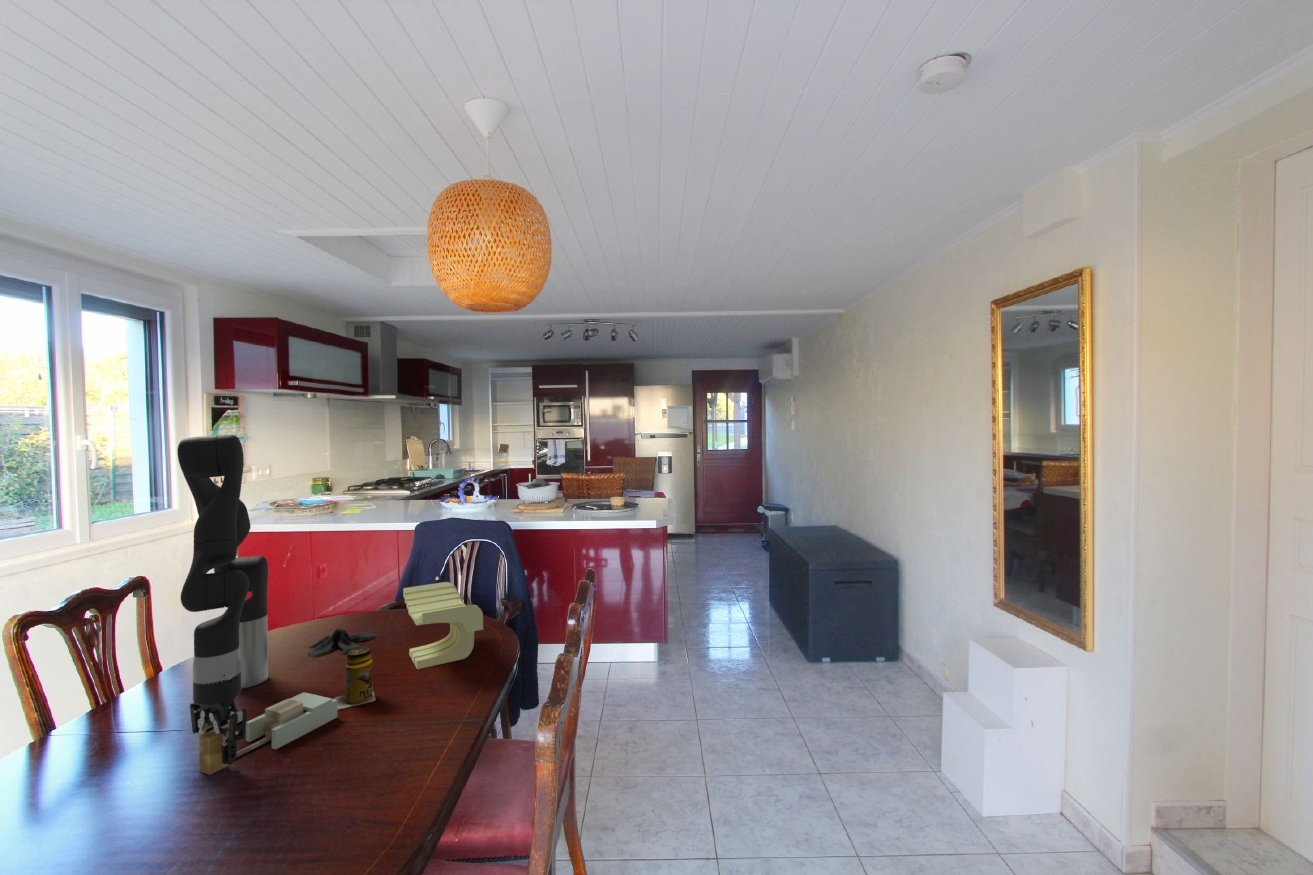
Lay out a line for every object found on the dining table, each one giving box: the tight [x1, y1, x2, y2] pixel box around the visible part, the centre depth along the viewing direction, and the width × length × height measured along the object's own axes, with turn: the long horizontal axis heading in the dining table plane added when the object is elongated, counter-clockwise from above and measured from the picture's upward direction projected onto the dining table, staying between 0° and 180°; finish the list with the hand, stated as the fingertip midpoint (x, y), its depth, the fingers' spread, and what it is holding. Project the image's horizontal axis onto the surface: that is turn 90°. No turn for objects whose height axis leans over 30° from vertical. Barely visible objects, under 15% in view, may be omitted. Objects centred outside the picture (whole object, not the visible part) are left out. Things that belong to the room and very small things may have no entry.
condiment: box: [333, 646, 377, 711], centre depth 138 cm, size 7×8×12 cm
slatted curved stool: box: [403, 581, 484, 670], centre depth 165 cm, size 30×16×18 cm, turn 33°
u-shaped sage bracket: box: [245, 691, 338, 750], centre depth 124 cm, size 9×14×5 cm, turn 158°
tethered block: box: [198, 698, 303, 776], centre depth 116 cm, size 5×18×7 cm, turn 158°
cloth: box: [307, 628, 379, 659], centre depth 174 cm, size 22×19×6 cm
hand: (218, 758), depth 110 cm, fingers open, 6 cm apart
